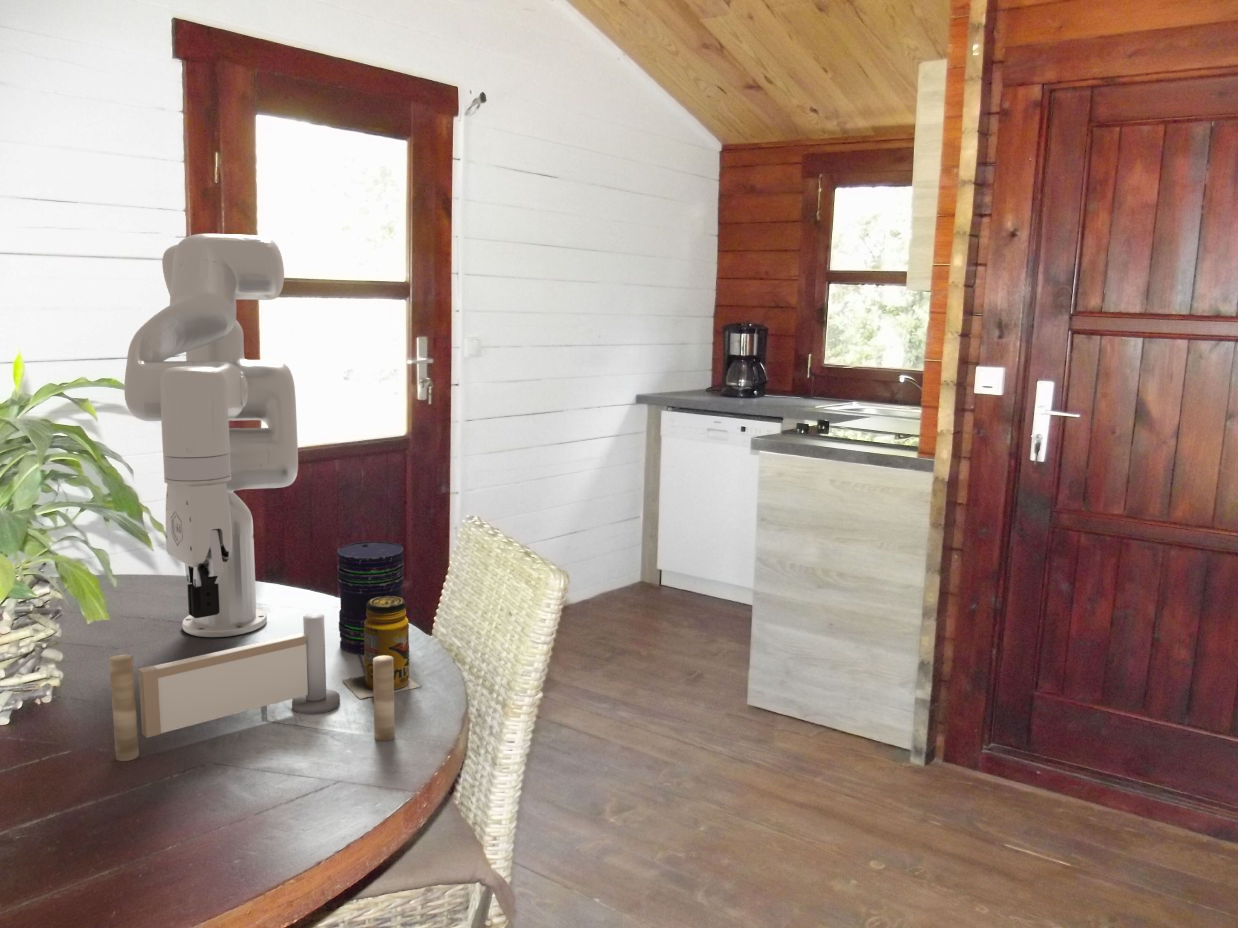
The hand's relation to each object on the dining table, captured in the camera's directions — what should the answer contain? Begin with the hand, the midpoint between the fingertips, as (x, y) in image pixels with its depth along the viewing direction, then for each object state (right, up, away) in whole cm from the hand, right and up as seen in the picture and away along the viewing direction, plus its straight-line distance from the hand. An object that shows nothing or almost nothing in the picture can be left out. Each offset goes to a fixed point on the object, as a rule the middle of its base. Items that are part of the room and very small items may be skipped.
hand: (204, 614), depth 128 cm
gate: (+4, -13, 0) cm, 14 cm away
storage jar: (+14, -9, +30) cm, 34 cm away
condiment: (+18, -12, +15) cm, 26 cm away
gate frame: (+8, -15, -4) cm, 17 cm away
